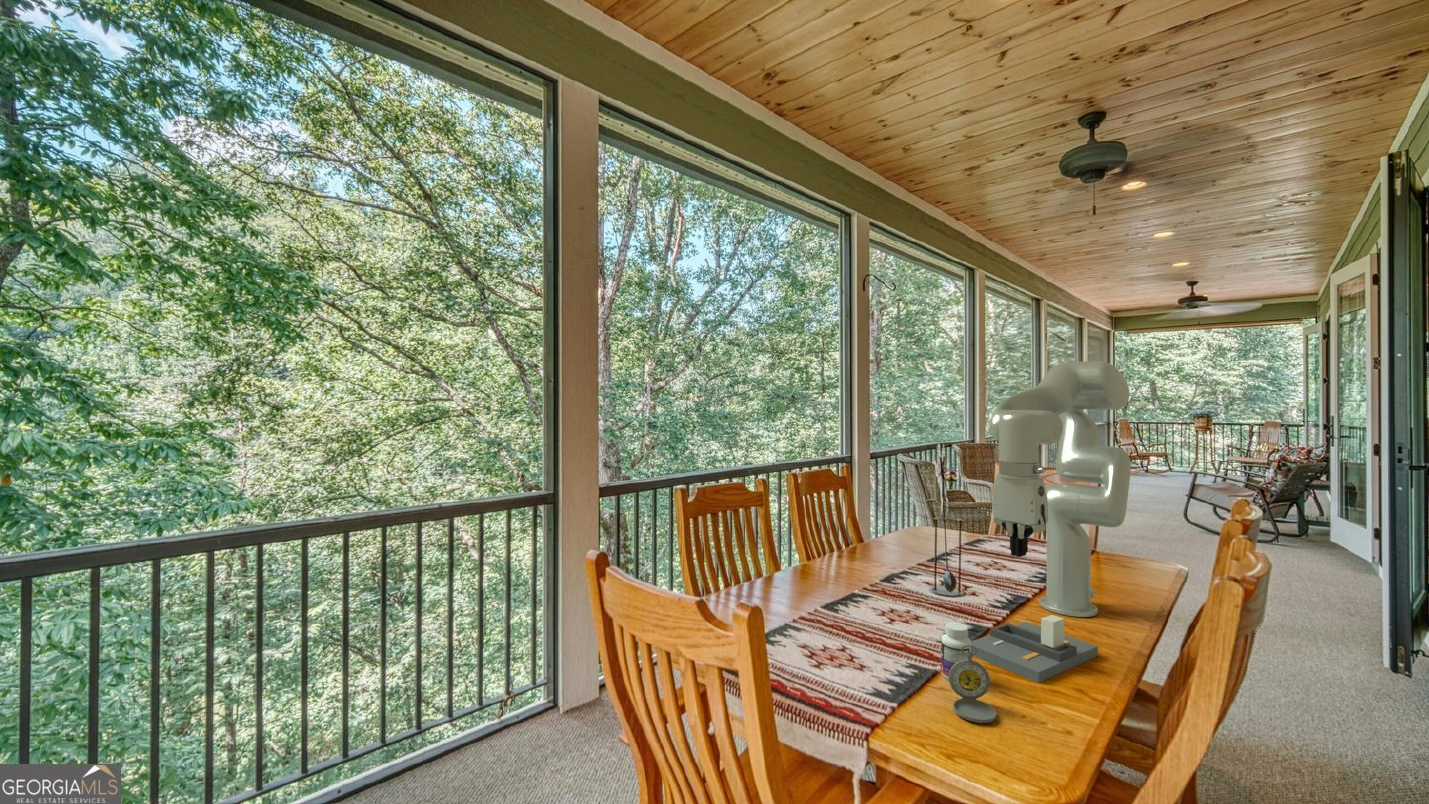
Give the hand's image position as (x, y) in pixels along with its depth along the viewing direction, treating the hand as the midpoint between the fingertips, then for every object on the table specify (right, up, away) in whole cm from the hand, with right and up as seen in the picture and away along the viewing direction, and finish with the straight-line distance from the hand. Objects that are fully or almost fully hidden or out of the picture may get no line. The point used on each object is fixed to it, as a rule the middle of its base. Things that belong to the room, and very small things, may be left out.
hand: (1018, 555), depth 123 cm
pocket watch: (-21, -20, -25) cm, 39 cm away
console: (+1, -20, -4) cm, 20 cm away
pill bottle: (-19, -20, -14) cm, 31 cm away
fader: (+3, -17, -7) cm, 19 cm away
